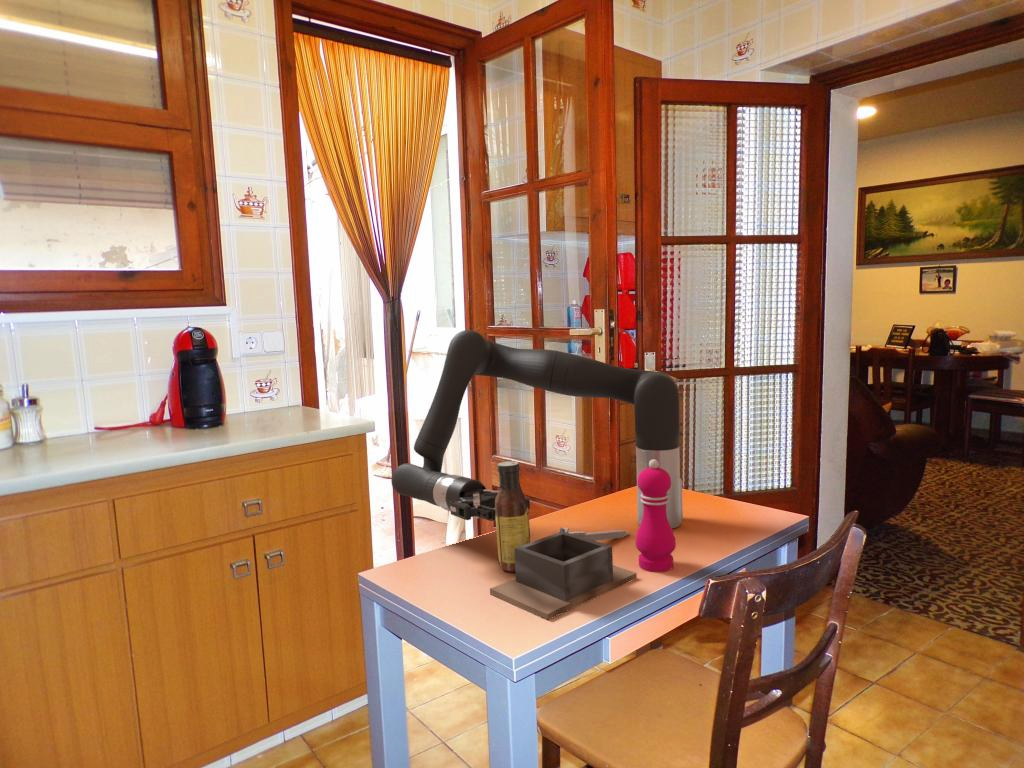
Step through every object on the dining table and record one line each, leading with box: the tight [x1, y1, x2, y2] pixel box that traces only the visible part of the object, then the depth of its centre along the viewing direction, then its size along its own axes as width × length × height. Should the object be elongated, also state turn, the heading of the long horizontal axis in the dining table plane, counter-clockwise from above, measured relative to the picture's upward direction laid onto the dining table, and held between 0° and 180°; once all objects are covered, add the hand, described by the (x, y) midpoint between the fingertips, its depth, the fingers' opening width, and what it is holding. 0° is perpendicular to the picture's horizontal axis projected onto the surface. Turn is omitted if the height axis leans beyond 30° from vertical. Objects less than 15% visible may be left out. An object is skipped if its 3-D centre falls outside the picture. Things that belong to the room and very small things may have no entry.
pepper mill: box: [635, 459, 677, 573], centre depth 123 cm, size 7×7×20 cm
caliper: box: [559, 526, 631, 541], centre depth 135 cm, size 20×1×6 cm, turn 130°
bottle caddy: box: [489, 531, 638, 620], centre depth 117 cm, size 22×14×7 cm, turn 131°
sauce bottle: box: [495, 460, 532, 573], centre depth 126 cm, size 7×6×20 cm
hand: (511, 509), depth 126 cm, fingers open, 8 cm apart
